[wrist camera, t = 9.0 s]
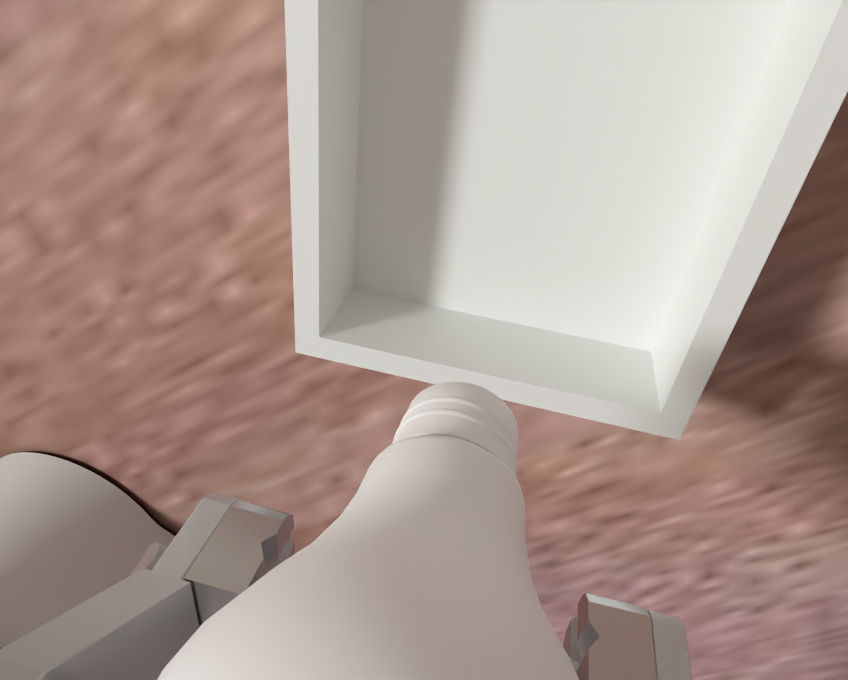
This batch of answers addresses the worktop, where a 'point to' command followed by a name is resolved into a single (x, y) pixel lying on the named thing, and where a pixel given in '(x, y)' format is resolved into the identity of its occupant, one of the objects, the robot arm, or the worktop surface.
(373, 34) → the tote
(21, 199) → the worktop surface
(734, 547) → the worktop surface
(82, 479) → the robot arm
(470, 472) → the lightbulb
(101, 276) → the worktop surface
